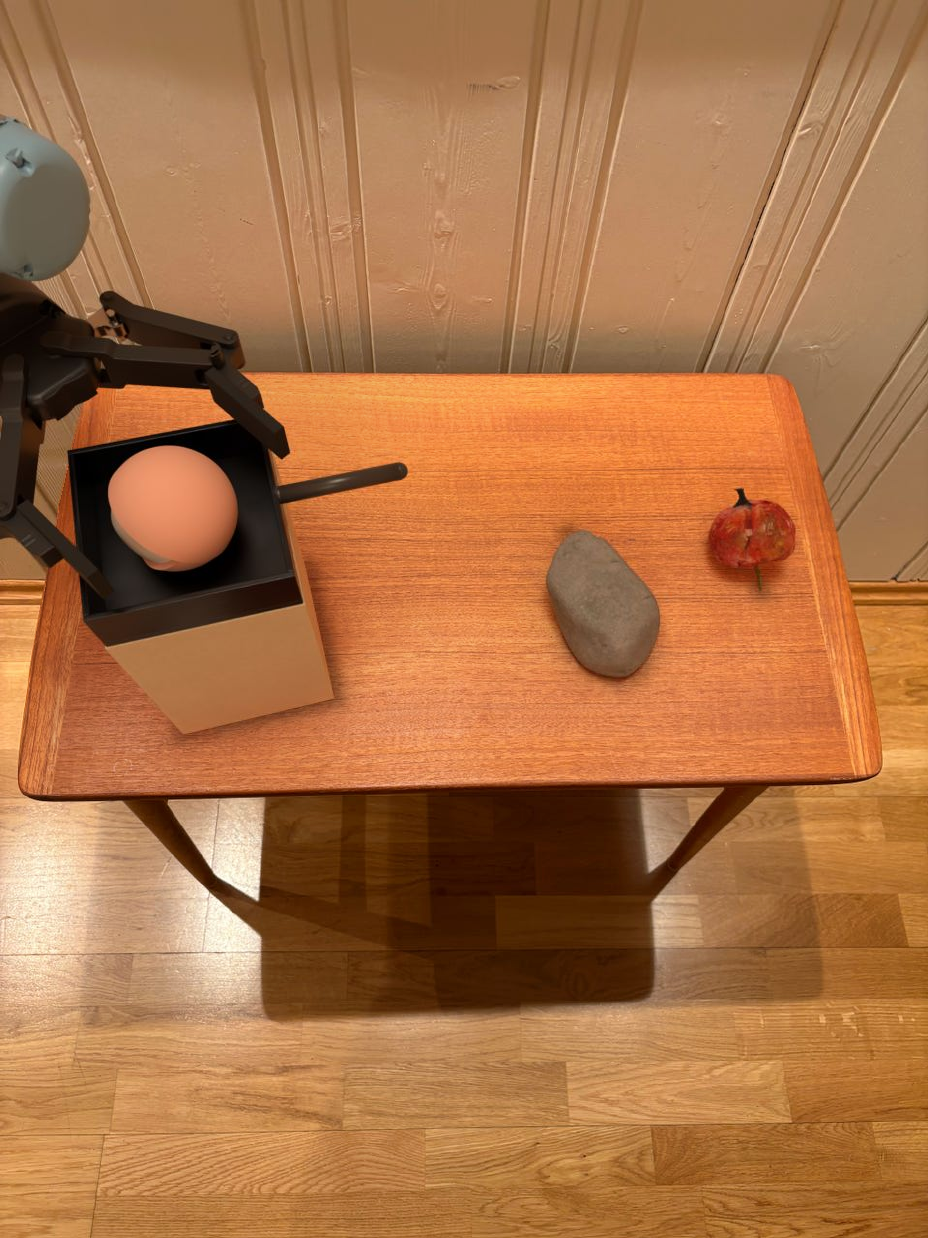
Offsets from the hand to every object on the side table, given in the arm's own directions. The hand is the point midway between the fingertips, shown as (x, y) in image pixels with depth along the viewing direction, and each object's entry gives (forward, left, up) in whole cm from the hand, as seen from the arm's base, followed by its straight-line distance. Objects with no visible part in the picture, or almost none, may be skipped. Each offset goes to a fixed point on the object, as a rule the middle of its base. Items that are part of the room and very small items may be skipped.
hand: (196, 511), depth 50 cm
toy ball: (-2, +3, -7) cm, 8 cm away
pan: (+3, +3, -8) cm, 9 cm away
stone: (+29, -1, -27) cm, 40 cm away
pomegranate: (+45, +1, -27) cm, 53 cm away
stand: (-2, +3, -27) cm, 27 cm away
